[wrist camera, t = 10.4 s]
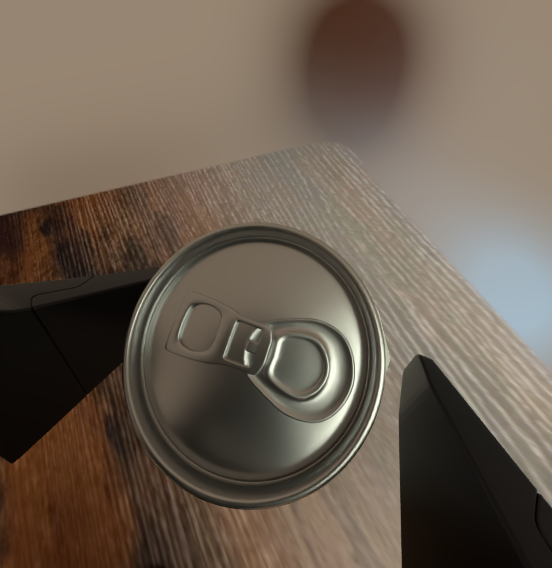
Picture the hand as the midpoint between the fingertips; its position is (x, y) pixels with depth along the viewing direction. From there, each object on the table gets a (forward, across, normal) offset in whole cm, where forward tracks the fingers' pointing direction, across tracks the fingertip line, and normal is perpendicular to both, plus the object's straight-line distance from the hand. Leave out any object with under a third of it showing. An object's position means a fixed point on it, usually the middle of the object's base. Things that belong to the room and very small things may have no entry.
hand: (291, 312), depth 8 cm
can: (+5, 0, +7) cm, 8 cm away
